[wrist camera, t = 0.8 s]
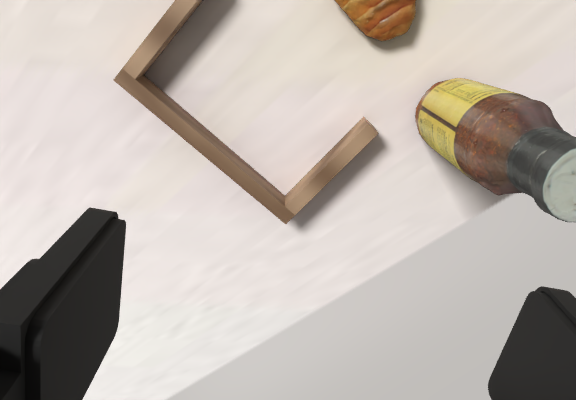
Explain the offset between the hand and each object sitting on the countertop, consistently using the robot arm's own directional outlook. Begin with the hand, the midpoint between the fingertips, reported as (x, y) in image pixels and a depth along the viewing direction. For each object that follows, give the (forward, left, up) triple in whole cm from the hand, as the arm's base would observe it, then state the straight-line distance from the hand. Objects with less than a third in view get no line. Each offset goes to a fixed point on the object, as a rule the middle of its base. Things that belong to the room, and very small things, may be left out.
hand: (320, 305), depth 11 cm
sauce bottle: (-8, +11, -32) cm, 35 cm away
